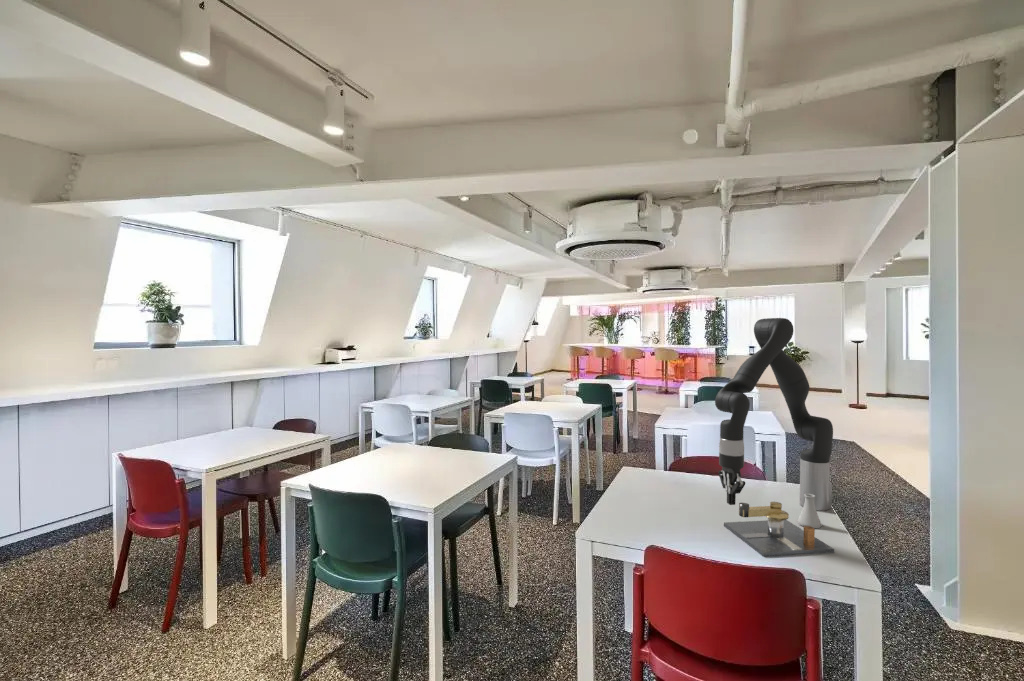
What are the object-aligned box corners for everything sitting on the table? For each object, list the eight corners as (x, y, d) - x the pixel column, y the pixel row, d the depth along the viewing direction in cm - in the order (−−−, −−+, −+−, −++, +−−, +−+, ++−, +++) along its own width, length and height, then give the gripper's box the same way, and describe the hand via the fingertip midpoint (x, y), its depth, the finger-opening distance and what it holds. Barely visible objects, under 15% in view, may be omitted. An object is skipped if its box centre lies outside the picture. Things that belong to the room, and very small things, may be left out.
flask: (821, 530, 162) (822, 500, 162) (796, 526, 166) (796, 496, 166) (822, 523, 168) (822, 493, 168) (797, 518, 172) (797, 490, 172)
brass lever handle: (779, 511, 160) (779, 498, 160) (793, 519, 153) (793, 506, 153) (733, 513, 159) (733, 500, 158) (746, 521, 152) (746, 508, 151)
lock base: (785, 523, 169) (786, 502, 168) (834, 552, 147) (834, 529, 146) (723, 526, 166) (724, 505, 166) (763, 556, 144) (763, 533, 144)
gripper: (754, 457, 158) (753, 511, 158) (731, 446, 171) (731, 496, 171) (731, 457, 157) (731, 512, 158) (710, 447, 170) (710, 497, 171)
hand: (731, 503), depth 165 cm, fingers closed
